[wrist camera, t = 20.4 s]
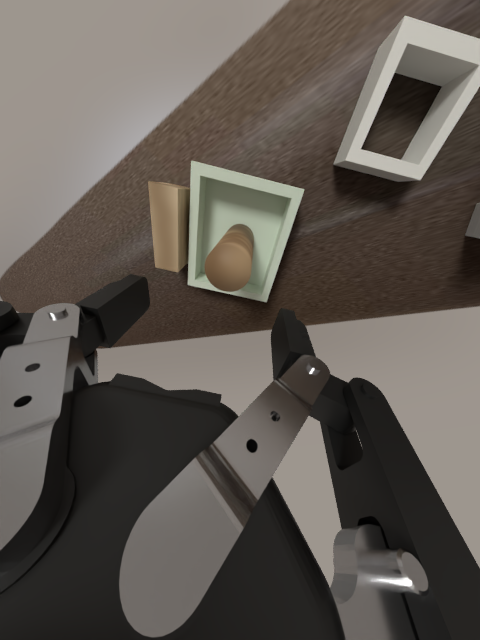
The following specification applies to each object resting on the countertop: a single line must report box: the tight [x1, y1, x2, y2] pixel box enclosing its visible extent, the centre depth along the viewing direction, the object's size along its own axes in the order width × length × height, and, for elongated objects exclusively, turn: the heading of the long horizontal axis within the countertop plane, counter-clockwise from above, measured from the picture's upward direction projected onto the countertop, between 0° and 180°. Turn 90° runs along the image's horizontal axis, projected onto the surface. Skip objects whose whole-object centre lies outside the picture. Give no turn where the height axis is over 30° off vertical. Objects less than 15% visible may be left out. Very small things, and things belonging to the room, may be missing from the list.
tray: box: [188, 161, 304, 302], centre depth 24 cm, size 12×14×4 cm
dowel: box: [204, 224, 254, 292], centre depth 20 cm, size 4×4×12 cm
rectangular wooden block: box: [148, 181, 190, 272], centre depth 23 cm, size 3×9×6 cm, turn 169°
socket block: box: [333, 16, 480, 182], centre depth 17 cm, size 8×8×4 cm
